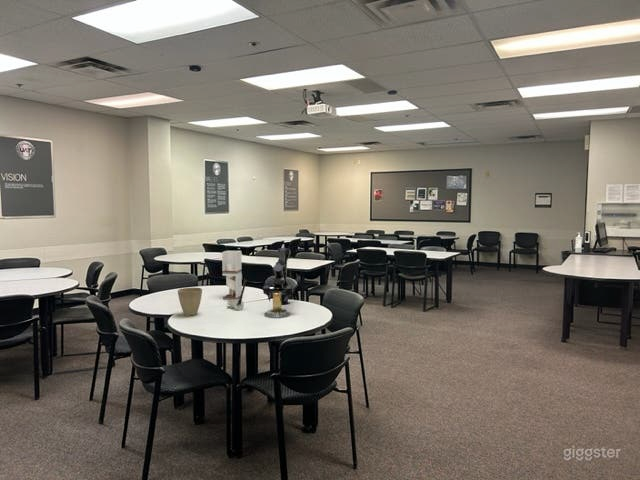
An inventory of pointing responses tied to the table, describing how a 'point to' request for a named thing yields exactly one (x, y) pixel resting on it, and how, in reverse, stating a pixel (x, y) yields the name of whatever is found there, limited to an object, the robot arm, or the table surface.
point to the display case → (232, 273)
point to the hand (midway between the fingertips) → (276, 301)
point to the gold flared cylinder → (276, 302)
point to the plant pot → (190, 300)
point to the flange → (277, 314)
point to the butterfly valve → (238, 303)
